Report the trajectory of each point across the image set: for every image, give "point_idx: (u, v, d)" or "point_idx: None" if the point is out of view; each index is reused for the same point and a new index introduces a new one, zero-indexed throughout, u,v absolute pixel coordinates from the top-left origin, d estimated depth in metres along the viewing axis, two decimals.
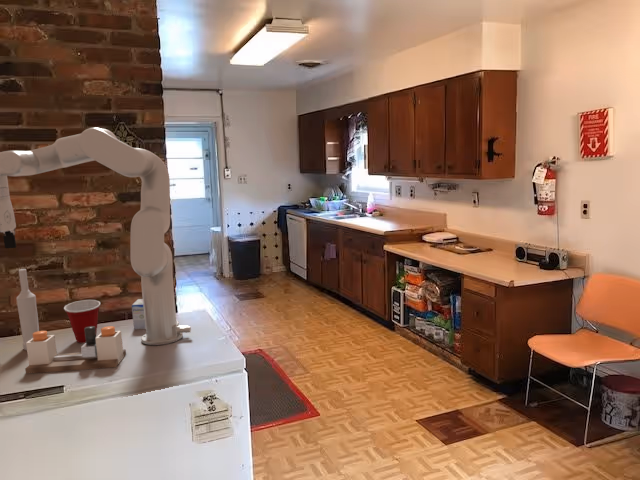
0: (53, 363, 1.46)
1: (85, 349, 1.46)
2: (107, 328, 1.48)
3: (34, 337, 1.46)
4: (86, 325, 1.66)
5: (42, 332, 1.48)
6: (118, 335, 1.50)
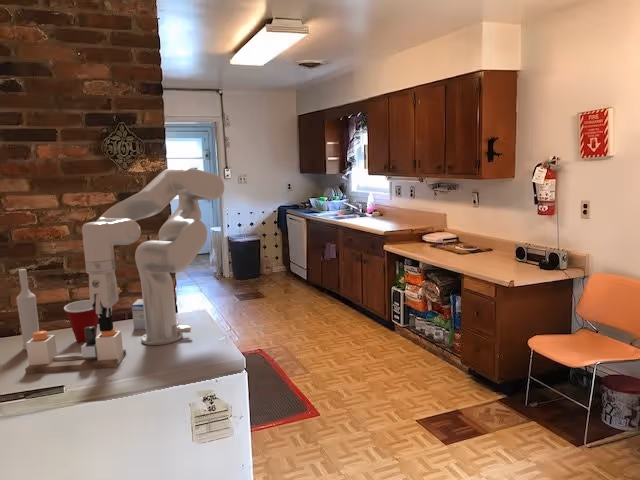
0: (53, 363, 1.46)
1: (85, 349, 1.46)
2: None
3: (34, 337, 1.46)
4: (86, 325, 1.66)
5: (42, 332, 1.48)
6: (118, 335, 1.50)
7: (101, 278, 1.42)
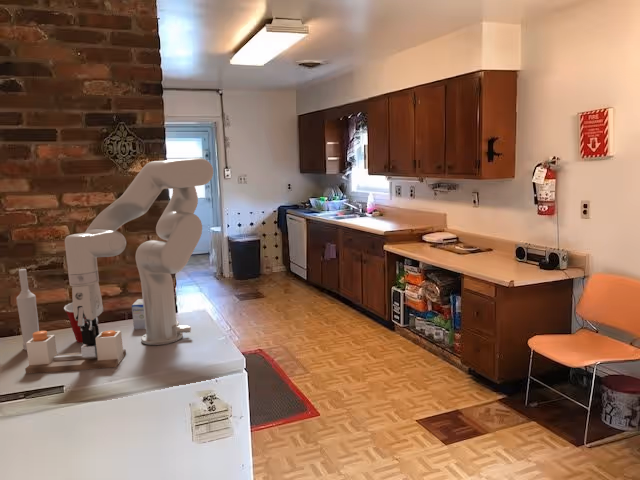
0: (53, 363, 1.46)
1: (85, 349, 1.46)
2: (107, 332, 1.49)
3: (34, 337, 1.46)
4: None
5: (42, 332, 1.48)
6: (118, 335, 1.50)
7: (84, 290, 1.42)
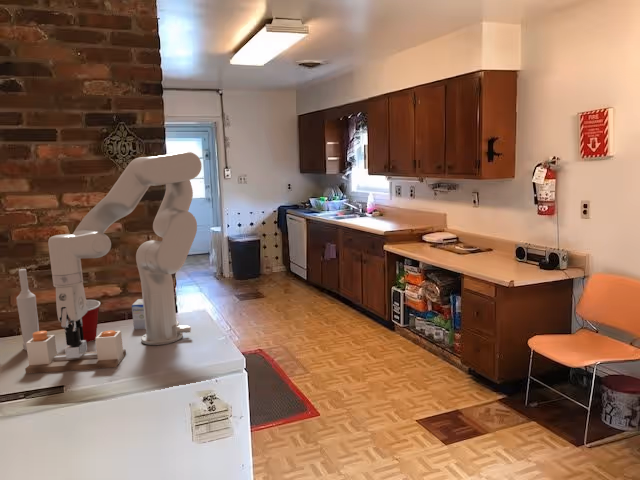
0: (53, 363, 1.46)
1: (69, 350, 1.46)
2: (107, 332, 1.49)
3: (34, 337, 1.46)
4: (86, 325, 1.66)
5: (42, 332, 1.48)
6: (118, 335, 1.50)
7: (68, 291, 1.42)
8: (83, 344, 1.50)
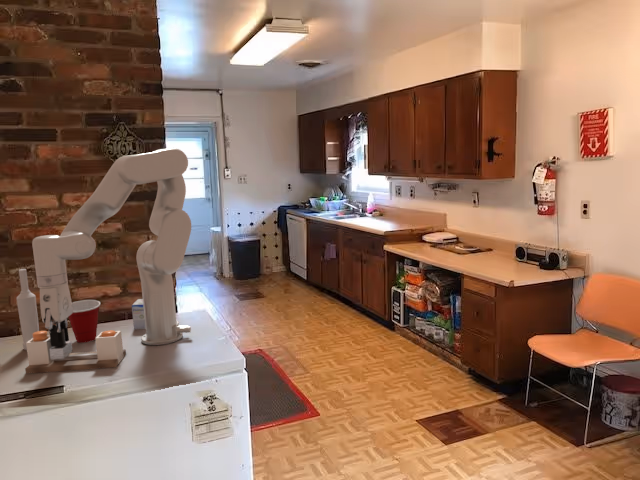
0: (53, 363, 1.46)
1: (54, 351, 1.46)
2: (107, 332, 1.49)
3: (34, 337, 1.46)
4: (86, 325, 1.66)
5: (42, 332, 1.48)
6: (118, 335, 1.50)
7: (52, 292, 1.42)
8: (68, 345, 1.49)
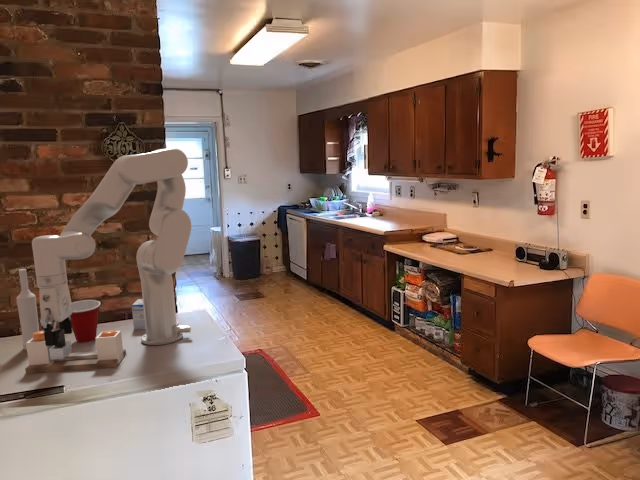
0: (53, 363, 1.46)
1: (53, 351, 1.46)
2: (107, 332, 1.49)
3: (34, 337, 1.46)
4: (86, 325, 1.66)
5: (42, 332, 1.48)
6: (118, 335, 1.50)
7: (51, 292, 1.42)
8: (68, 345, 1.49)
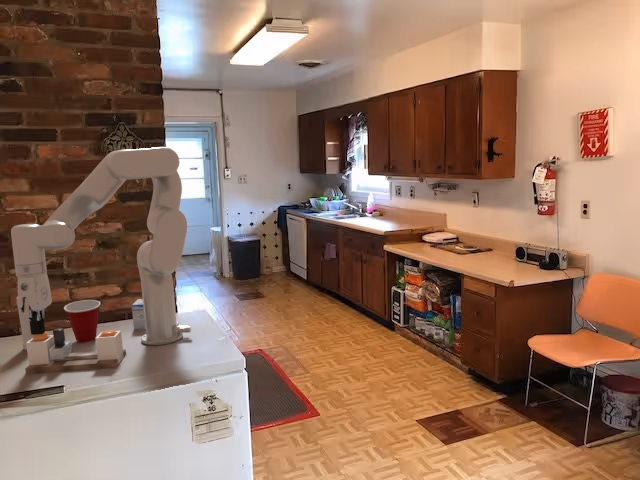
0: (53, 363, 1.46)
1: (53, 351, 1.46)
2: (107, 332, 1.49)
3: (34, 337, 1.46)
4: (86, 325, 1.66)
5: None
6: (118, 335, 1.50)
7: (30, 281, 1.41)
8: (68, 345, 1.49)
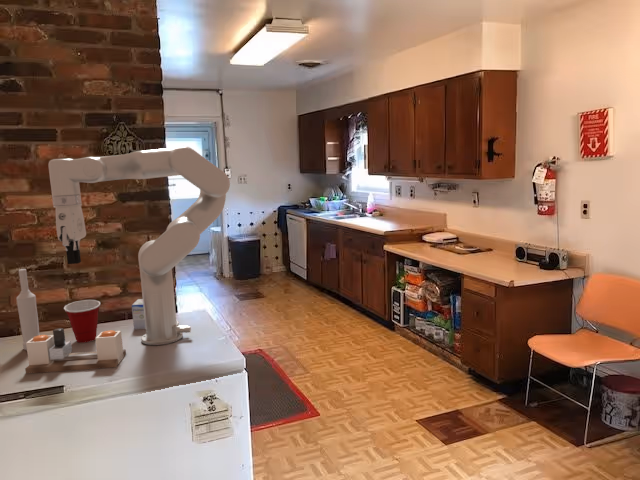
0: (53, 363, 1.46)
1: (53, 351, 1.46)
2: (107, 332, 1.49)
3: (35, 341, 1.46)
4: (86, 325, 1.66)
5: (43, 336, 1.48)
6: (118, 335, 1.50)
7: (67, 211, 1.50)
8: (68, 345, 1.49)
